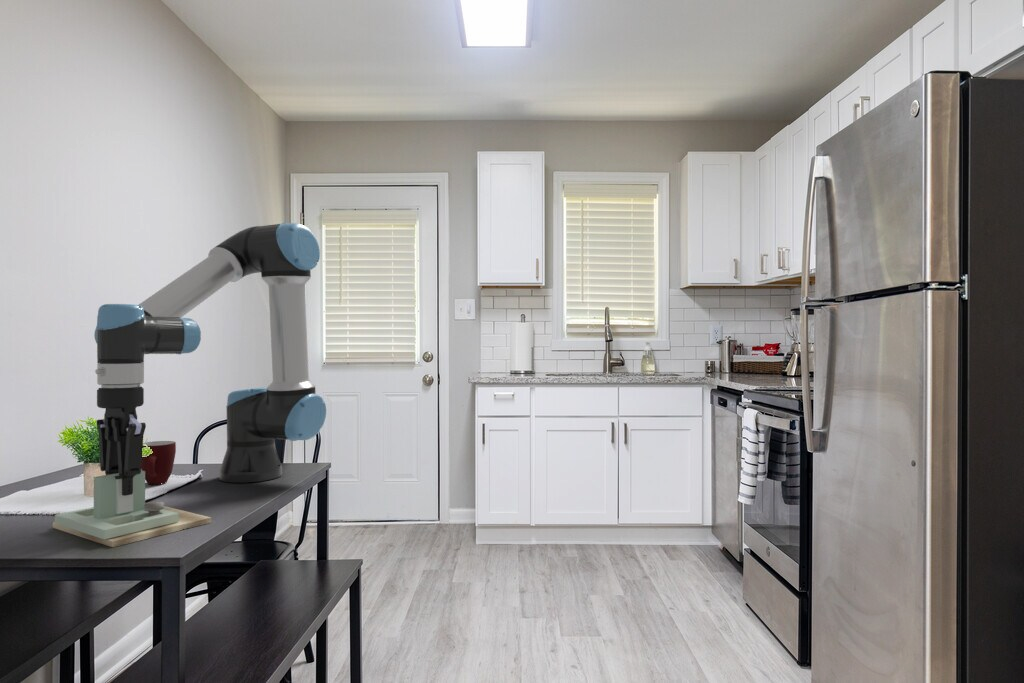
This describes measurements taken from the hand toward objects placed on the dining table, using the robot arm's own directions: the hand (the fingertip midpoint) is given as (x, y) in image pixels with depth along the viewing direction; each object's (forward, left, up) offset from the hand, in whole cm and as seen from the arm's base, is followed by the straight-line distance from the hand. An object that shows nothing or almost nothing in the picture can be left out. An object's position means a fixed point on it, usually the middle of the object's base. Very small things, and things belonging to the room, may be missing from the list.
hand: (120, 510), depth 120 cm
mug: (-24, -32, -4) cm, 40 cm away
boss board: (-2, 0, -3) cm, 4 cm away
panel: (+1, 0, -2) cm, 2 cm away
